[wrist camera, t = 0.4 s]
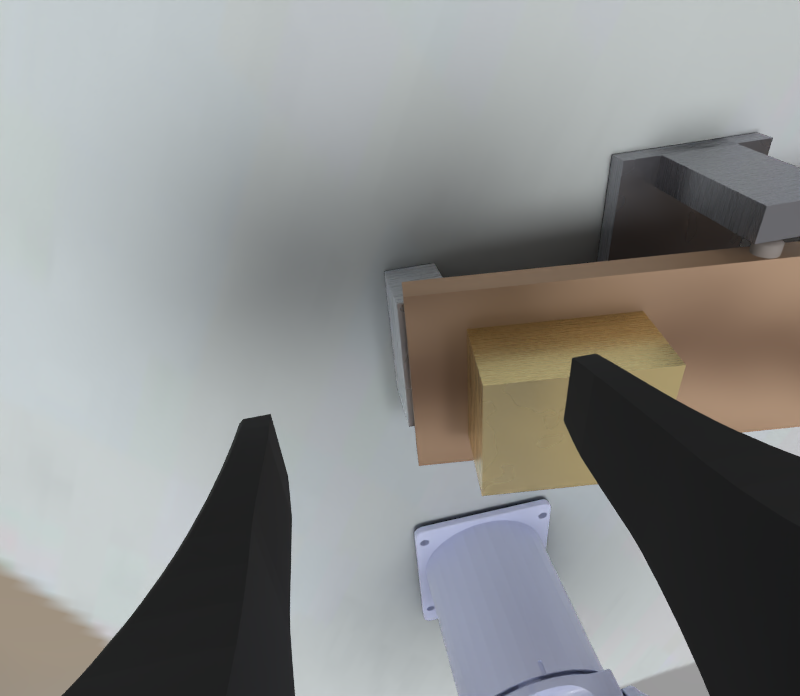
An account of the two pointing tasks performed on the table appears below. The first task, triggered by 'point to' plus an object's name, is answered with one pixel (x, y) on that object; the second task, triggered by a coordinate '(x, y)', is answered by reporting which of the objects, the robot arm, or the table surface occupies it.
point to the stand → (663, 214)
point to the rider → (548, 393)
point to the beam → (612, 294)
